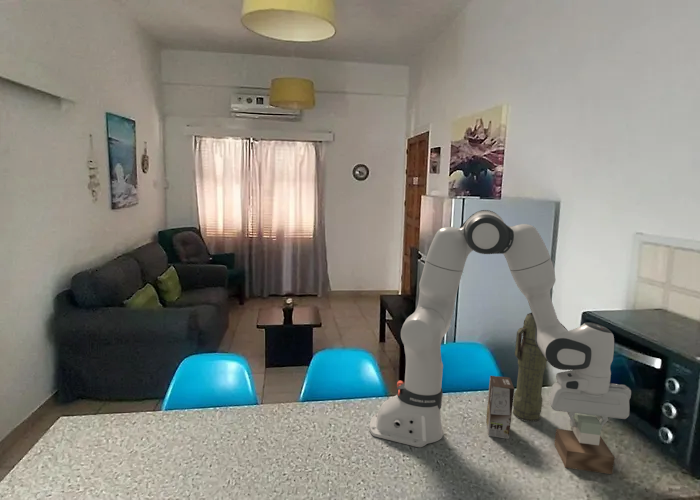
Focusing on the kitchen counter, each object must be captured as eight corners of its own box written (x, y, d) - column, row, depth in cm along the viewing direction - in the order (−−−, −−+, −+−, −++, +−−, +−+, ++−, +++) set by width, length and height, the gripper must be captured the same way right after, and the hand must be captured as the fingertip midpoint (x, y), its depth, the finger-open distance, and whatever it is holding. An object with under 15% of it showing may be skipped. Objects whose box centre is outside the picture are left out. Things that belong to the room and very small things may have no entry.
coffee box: (509, 439, 142) (515, 389, 139) (487, 436, 143) (492, 386, 141) (506, 424, 151) (510, 377, 148) (485, 421, 152) (489, 374, 150)
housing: (571, 428, 137) (573, 408, 136) (589, 430, 136) (592, 411, 135) (579, 442, 129) (582, 422, 128) (598, 445, 128) (601, 424, 127)
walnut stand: (565, 467, 128) (567, 450, 128) (554, 444, 140) (556, 428, 139) (612, 474, 126) (614, 457, 126) (597, 449, 138) (599, 434, 137)
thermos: (503, 410, 160) (512, 311, 155) (533, 407, 163) (543, 310, 158) (518, 423, 152) (529, 318, 147) (549, 420, 155) (561, 318, 150)
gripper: (627, 381, 131) (621, 427, 133) (550, 372, 135) (545, 417, 137) (636, 390, 125) (630, 438, 127) (556, 381, 129) (550, 428, 131)
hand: (585, 427), depth 132 cm, fingers closed on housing, 5 cm apart
